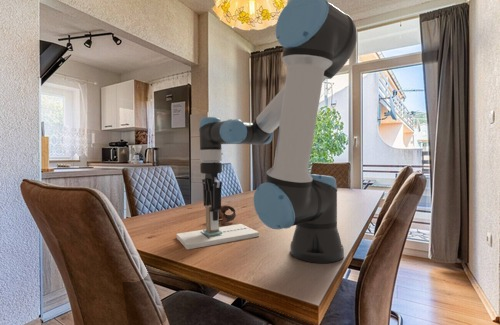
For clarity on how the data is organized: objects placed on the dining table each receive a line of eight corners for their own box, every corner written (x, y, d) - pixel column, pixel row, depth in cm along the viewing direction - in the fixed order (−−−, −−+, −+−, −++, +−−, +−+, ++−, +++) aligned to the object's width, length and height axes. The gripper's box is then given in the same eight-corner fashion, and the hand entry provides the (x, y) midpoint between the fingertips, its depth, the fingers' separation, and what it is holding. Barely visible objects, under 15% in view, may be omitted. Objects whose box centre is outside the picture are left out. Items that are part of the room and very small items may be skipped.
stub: (222, 233, 92) (221, 206, 92) (208, 235, 90) (208, 207, 90) (216, 229, 98) (215, 203, 98) (203, 231, 95) (202, 205, 95)
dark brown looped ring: (234, 219, 123) (238, 205, 119) (232, 234, 115) (236, 219, 111) (208, 214, 122) (211, 199, 118) (204, 228, 114) (208, 213, 110)
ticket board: (259, 236, 95) (258, 231, 95) (187, 249, 83) (187, 244, 83) (241, 227, 107) (241, 223, 107) (176, 237, 95) (176, 233, 95)
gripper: (230, 162, 88) (231, 232, 88) (212, 161, 102) (214, 221, 103) (209, 162, 84) (210, 235, 85) (193, 162, 99) (195, 224, 99)
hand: (212, 227), depth 94 cm, fingers closed on stub, 3 cm apart
